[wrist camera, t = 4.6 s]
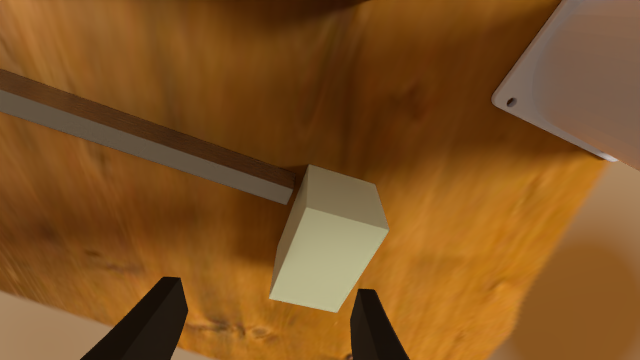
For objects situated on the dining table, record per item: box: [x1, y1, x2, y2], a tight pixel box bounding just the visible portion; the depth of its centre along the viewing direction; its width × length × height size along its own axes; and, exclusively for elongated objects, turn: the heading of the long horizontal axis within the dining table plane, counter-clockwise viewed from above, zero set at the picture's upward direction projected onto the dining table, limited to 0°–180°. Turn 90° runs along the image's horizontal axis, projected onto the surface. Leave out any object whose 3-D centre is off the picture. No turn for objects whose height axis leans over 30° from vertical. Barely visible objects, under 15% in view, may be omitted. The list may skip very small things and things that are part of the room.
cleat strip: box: [0, 69, 295, 205], centre depth 16 cm, size 16×1×2 cm, turn 67°
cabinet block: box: [269, 164, 389, 313], centre depth 18 cm, size 4×8×4 cm, turn 160°
